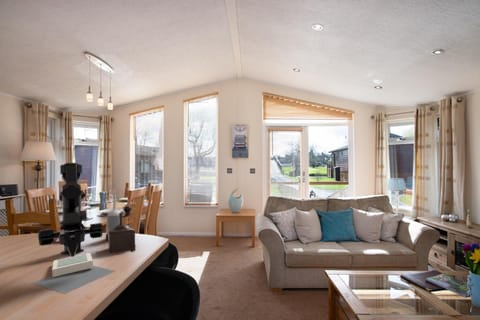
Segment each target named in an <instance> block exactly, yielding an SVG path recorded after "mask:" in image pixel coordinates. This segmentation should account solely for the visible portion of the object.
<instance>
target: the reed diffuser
mask: <svg viewBox="0 0 480 320" xmlns="http://www.w3.org/2000/svg"><path fill="white" fill-rule="evenodd" d="M112 199H113V200H112V201H113V202H112V203H113V204H112V205H113V206H112V207H113V208H112V210H110V211H109V212H108V213H107V216H106V217H107V219H106V220H107V221H106V222H107V223H106V224H107V226H106V227H107V228H106V229H107V230H106V232H107V233H105V241H106V242H108V228H114V227H115V226H117V225H119V224H120V218H119V216H120V215H119V213H122V212H121V211H120V210H118V209H117V208H116V206H117V202H116V189H113V195H112Z"/></svg>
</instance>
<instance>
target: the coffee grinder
mask: <svg viewBox="0 0 480 320" xmlns="http://www.w3.org/2000/svg"><path fill="white" fill-rule="evenodd" d="M132 210H133V207H132V206H131V205H127V206H126V205H125V206H124V207H123V211H124V215H123V213H122V212H121V213H119V215H120V216H119V218H120V224H119V225H117V226H115V227H114V228H108V241H107V242H108V244H107V245H108V246H107V250H108V252H109V254H114V253H121V252H126V251H129V252H135V251H136V230H135V228H134V227H133V225H132V224H130V222H129V223H128V224H127V223H123V219H124V218H128V217H130V216H131V214H132V213H131V212H132Z"/></svg>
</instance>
